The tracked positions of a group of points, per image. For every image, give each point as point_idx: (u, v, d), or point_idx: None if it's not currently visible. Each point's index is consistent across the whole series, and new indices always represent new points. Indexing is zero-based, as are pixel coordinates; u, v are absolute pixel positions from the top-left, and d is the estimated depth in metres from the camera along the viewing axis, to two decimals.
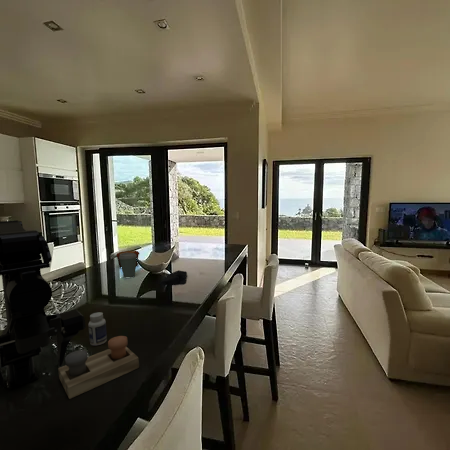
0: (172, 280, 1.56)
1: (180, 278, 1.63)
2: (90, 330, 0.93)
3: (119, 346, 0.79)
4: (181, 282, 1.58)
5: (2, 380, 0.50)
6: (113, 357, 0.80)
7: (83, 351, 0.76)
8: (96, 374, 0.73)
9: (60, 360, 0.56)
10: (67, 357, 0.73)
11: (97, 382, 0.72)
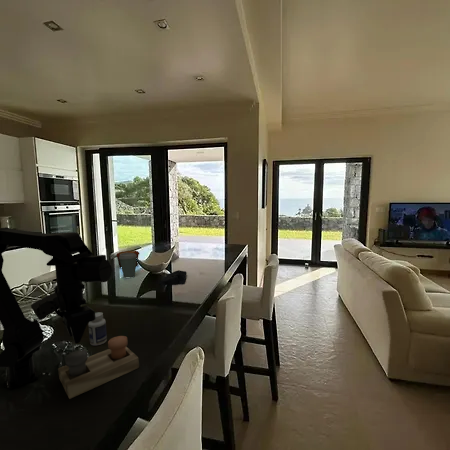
0: (171, 280, 1.56)
1: (180, 278, 1.63)
2: (90, 330, 0.93)
3: (119, 346, 0.79)
4: (180, 282, 1.58)
5: (68, 331, 0.75)
6: (113, 357, 0.80)
7: (83, 351, 0.76)
8: (96, 374, 0.73)
9: (73, 338, 0.71)
10: (67, 357, 0.73)
11: (97, 382, 0.72)
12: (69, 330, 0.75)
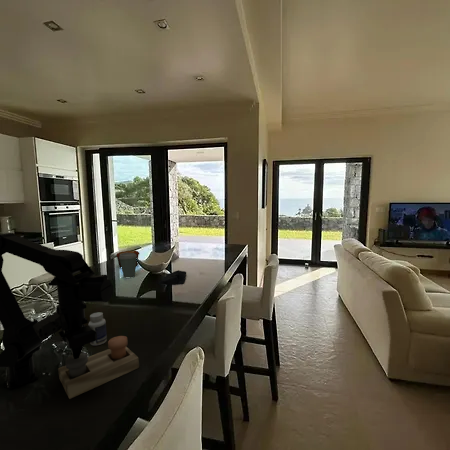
0: (171, 280, 1.56)
1: (179, 278, 1.63)
2: None
3: (119, 346, 0.79)
4: (180, 282, 1.58)
5: (72, 352, 0.73)
6: (113, 357, 0.80)
7: (83, 353, 0.76)
8: (96, 374, 0.73)
9: None
10: (67, 360, 0.73)
11: (97, 382, 0.72)
12: None
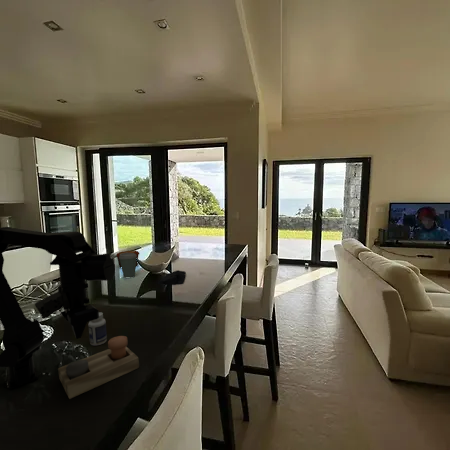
0: (170, 280, 1.56)
1: (178, 278, 1.63)
2: (90, 330, 0.93)
3: (119, 346, 0.79)
4: (179, 282, 1.58)
5: (74, 332, 0.73)
6: (113, 357, 0.80)
7: (84, 361, 0.76)
8: (96, 374, 0.73)
9: None
10: (68, 367, 0.73)
11: (97, 382, 0.72)
12: None
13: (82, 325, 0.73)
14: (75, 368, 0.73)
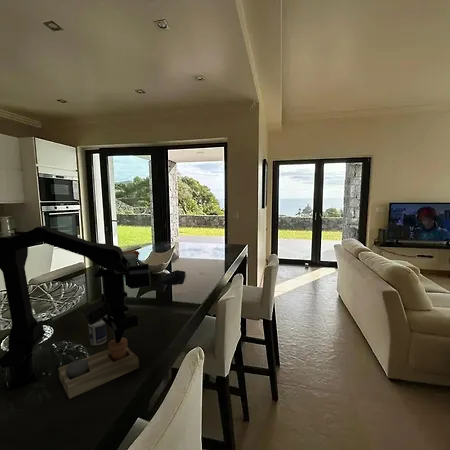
0: (169, 280, 1.57)
1: (178, 278, 1.63)
2: (90, 330, 0.93)
3: (119, 348, 0.79)
4: (178, 282, 1.58)
5: (114, 337, 0.81)
6: (113, 359, 0.80)
7: (84, 361, 0.76)
8: (96, 374, 0.73)
9: (114, 338, 0.80)
10: (68, 367, 0.73)
11: (97, 382, 0.72)
12: None
13: (121, 330, 0.80)
14: (75, 368, 0.73)
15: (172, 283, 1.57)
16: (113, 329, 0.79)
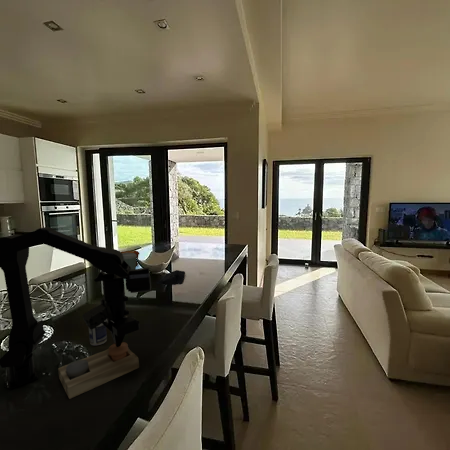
0: (169, 280, 1.57)
1: (177, 278, 1.63)
2: (90, 330, 0.93)
3: (119, 352, 0.79)
4: (178, 282, 1.58)
5: (114, 341, 0.81)
6: None
7: (84, 361, 0.76)
8: (96, 374, 0.73)
9: (115, 342, 0.80)
10: (68, 367, 0.73)
11: (97, 382, 0.72)
12: None
13: None
14: (75, 368, 0.73)
15: (172, 283, 1.57)
16: (114, 333, 0.79)
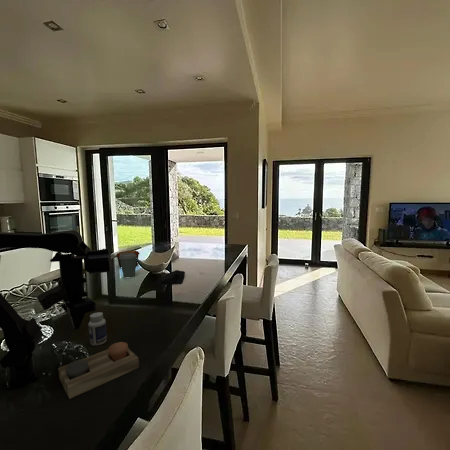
0: (168, 280, 1.57)
1: (177, 278, 1.64)
2: (90, 330, 0.93)
3: (119, 352, 0.79)
4: (177, 282, 1.58)
5: (72, 323, 0.79)
6: None
7: (84, 361, 0.76)
8: (96, 374, 0.73)
9: (73, 325, 0.79)
10: (68, 367, 0.73)
11: (97, 382, 0.72)
12: None
13: (80, 317, 0.79)
14: (75, 368, 0.73)
15: (171, 283, 1.57)
16: (71, 315, 0.77)
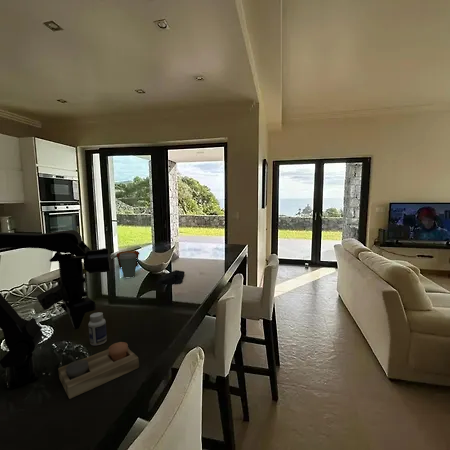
0: (168, 280, 1.57)
1: (177, 278, 1.64)
2: (90, 330, 0.93)
3: (119, 352, 0.79)
4: (177, 282, 1.58)
5: (72, 323, 0.79)
6: None
7: (84, 361, 0.76)
8: (96, 374, 0.73)
9: (73, 324, 0.79)
10: (68, 367, 0.73)
11: (97, 382, 0.72)
12: None
13: (80, 317, 0.79)
14: (75, 368, 0.73)
15: (171, 283, 1.57)
16: None
